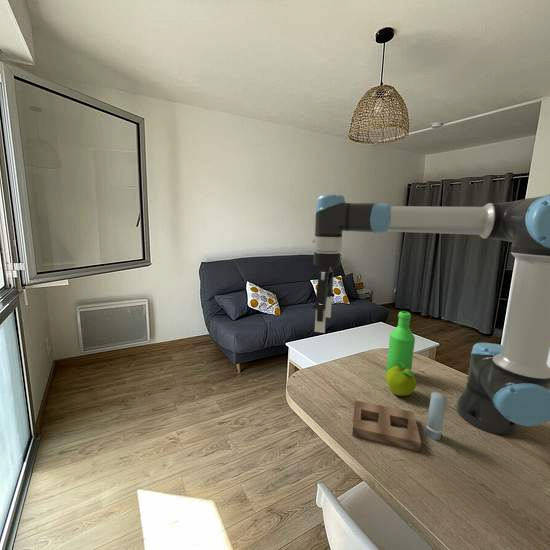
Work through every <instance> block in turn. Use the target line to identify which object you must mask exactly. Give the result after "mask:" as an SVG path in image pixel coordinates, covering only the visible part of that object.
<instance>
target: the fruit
mask: <svg viewBox="0 0 550 550" xmlns="http://www.w3.org/2000/svg"><path fill="white" fill-rule="evenodd" d="M396 364H397V365H398V366H394V367H392V368H391V369H389V370H388V371H386V374H385V380H386V383H387V386H388V388H389V389H390V391H391V392H392V393H393V394H394V395H396V396H399V397H406V396H409V395H411V393H413V392H414V391H415V390H416V387H417V379H416V376H415V374H414V372H413V370H412V369H411V370H409V369H407V368H405V365H404V363H402V362H396Z"/></svg>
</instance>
